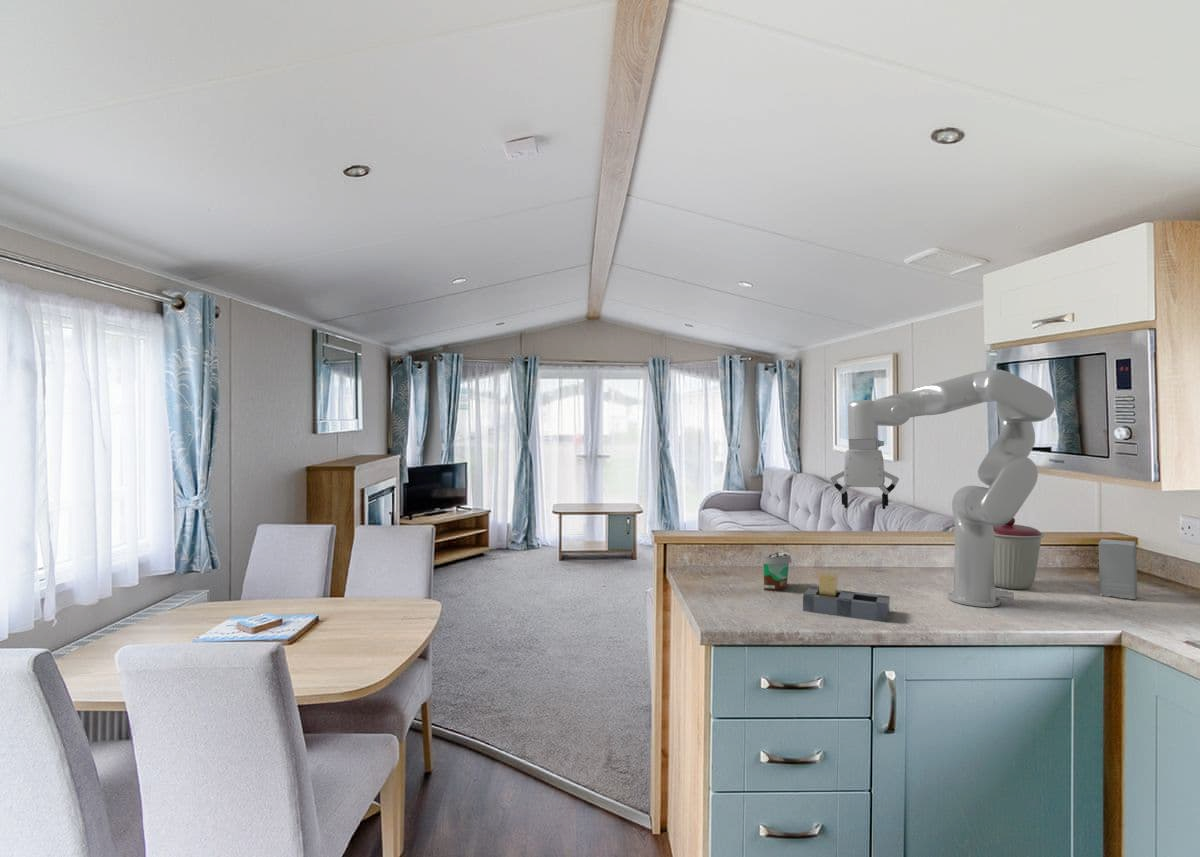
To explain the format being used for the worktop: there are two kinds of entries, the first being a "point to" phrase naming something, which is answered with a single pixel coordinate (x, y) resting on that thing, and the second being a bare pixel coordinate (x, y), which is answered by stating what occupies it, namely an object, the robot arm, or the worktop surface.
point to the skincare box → (1118, 568)
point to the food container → (776, 571)
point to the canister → (1015, 555)
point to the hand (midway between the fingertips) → (864, 508)
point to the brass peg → (828, 584)
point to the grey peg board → (848, 604)
